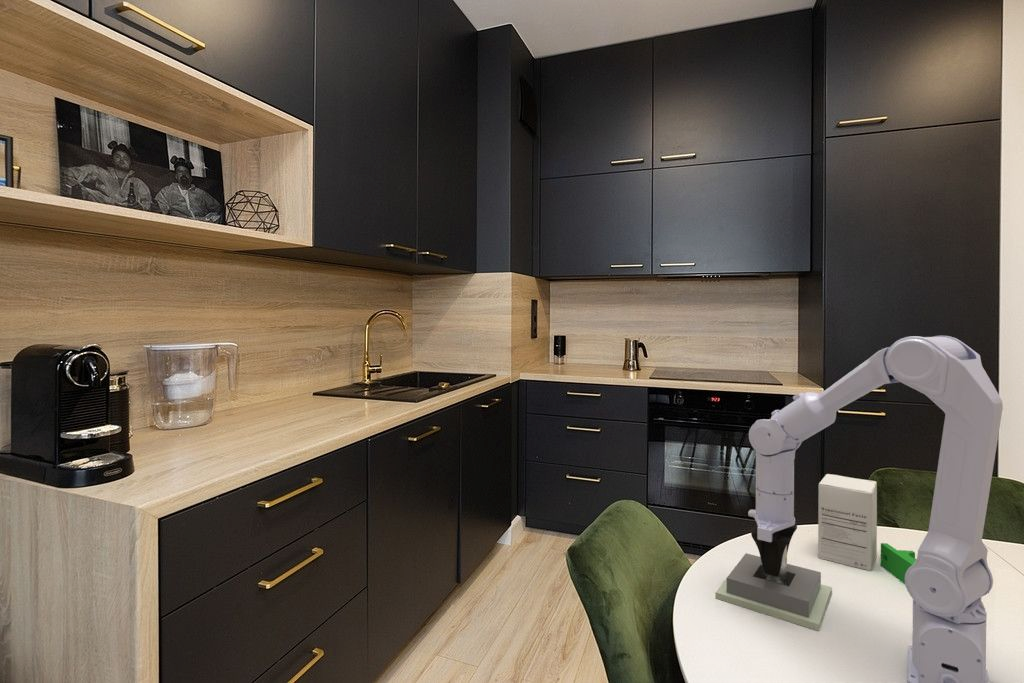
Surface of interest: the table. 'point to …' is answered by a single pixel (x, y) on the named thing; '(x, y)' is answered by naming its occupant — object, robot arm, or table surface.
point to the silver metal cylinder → (783, 572)
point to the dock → (777, 592)
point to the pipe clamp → (896, 561)
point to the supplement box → (847, 521)
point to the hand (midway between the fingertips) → (774, 569)
